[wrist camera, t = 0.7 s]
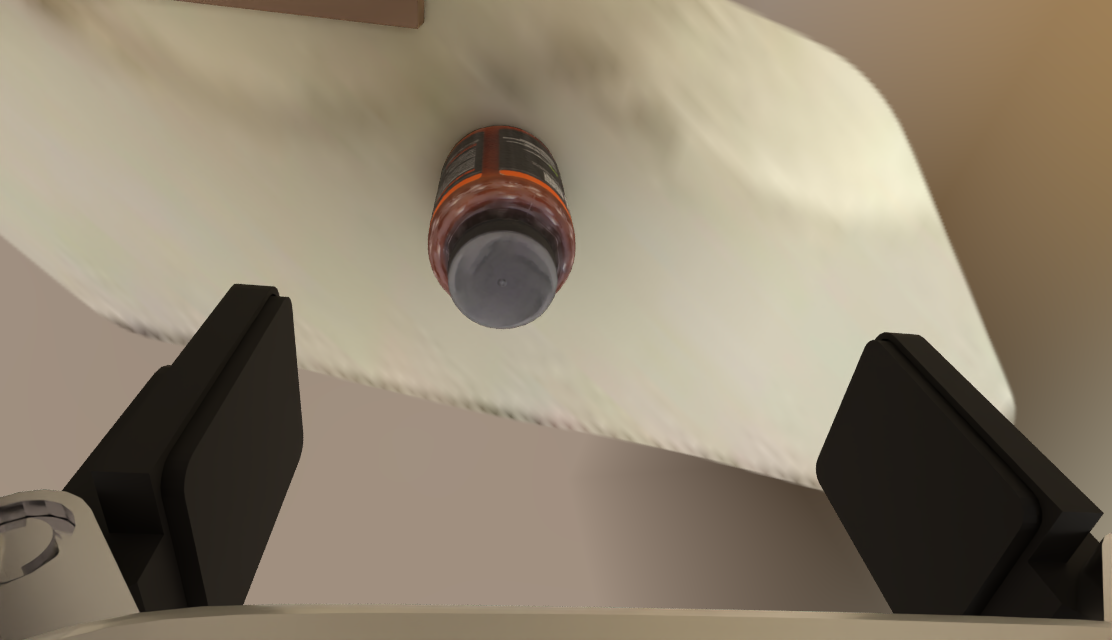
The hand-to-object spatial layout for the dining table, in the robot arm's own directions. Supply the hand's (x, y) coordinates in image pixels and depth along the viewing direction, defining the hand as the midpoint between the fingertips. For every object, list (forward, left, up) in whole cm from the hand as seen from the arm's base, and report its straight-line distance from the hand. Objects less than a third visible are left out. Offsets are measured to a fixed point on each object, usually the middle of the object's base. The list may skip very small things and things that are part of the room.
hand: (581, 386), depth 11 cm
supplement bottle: (+4, -1, -24) cm, 24 cm away
